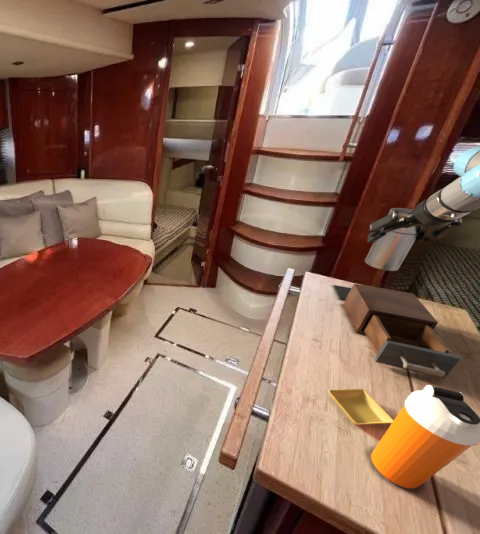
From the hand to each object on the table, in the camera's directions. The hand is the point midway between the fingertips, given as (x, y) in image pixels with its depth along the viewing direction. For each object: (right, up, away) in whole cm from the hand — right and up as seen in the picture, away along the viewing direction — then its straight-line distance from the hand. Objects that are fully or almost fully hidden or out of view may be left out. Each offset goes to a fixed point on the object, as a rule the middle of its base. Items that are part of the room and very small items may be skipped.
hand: (387, 240), depth 94 cm
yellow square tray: (-32, -41, -25) cm, 58 cm away
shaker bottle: (-35, -47, -35) cm, 69 cm away
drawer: (-9, -32, -13) cm, 36 cm away
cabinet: (-3, -26, 0) cm, 26 cm away
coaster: (+1, -18, +13) cm, 23 cm away
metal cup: (-1, -7, +1) cm, 7 cm away
